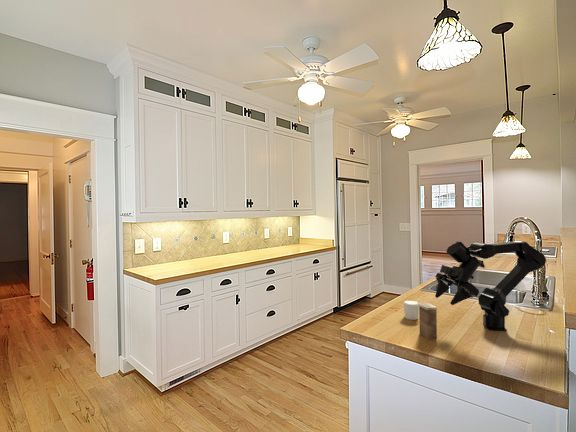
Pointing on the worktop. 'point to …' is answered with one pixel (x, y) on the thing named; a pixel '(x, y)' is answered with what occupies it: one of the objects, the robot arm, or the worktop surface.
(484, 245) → the robot arm
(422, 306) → the walnut block
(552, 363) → the worktop surface
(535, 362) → the worktop surface
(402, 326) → the worktop surface
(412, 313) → the white cylinder
